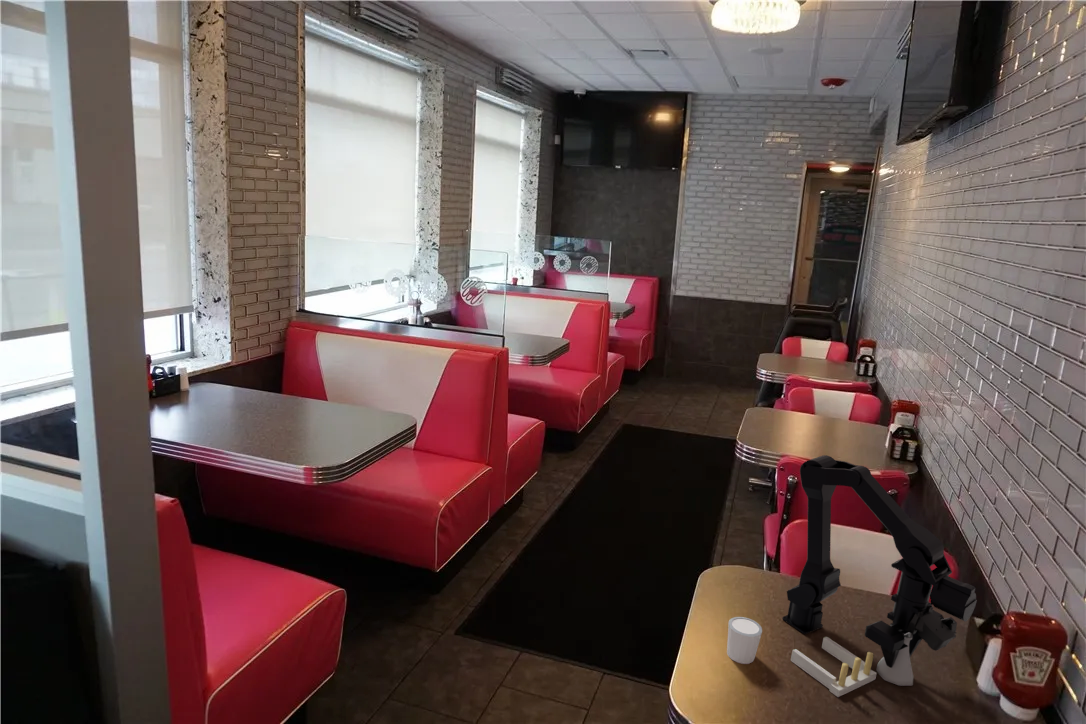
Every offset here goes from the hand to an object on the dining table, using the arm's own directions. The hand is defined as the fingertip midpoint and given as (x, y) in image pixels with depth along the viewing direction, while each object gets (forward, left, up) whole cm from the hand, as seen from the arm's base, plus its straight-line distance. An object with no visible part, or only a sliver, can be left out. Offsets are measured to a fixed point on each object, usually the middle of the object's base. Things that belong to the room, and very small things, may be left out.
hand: (897, 662), depth 149 cm
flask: (0, 0, -3) cm, 3 cm away
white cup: (-19, -25, -3) cm, 32 cm away
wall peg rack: (-7, -11, -3) cm, 13 cm away
